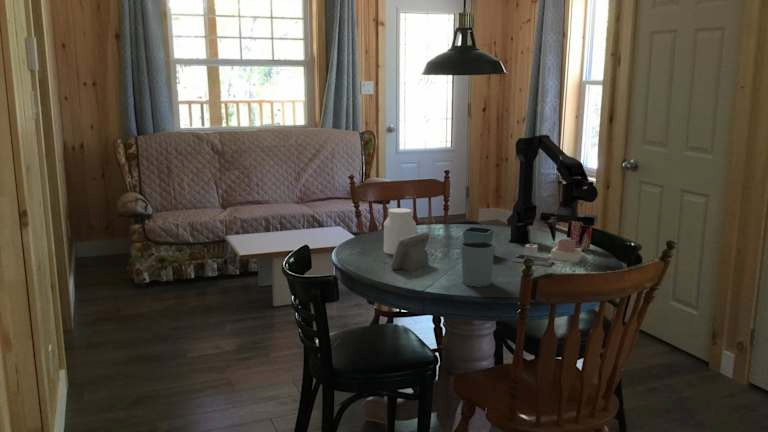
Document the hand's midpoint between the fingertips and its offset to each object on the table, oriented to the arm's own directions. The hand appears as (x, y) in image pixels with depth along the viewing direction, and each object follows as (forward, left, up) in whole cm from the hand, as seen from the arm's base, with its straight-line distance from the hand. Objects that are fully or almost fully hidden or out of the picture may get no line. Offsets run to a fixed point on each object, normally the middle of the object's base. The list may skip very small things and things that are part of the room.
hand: (567, 242), depth 231 cm
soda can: (+1, +15, -6) cm, 16 cm away
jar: (-54, -22, -6) cm, 59 cm away
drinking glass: (-15, -44, -6) cm, 47 cm away
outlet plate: (0, 0, -5) cm, 5 cm away
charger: (0, 0, -4) cm, 4 cm away
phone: (-8, -11, -5) cm, 15 cm away
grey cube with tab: (-11, -5, -6) cm, 13 cm away
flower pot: (-28, -12, -6) cm, 31 cm away
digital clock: (-41, -37, -6) cm, 56 cm away
